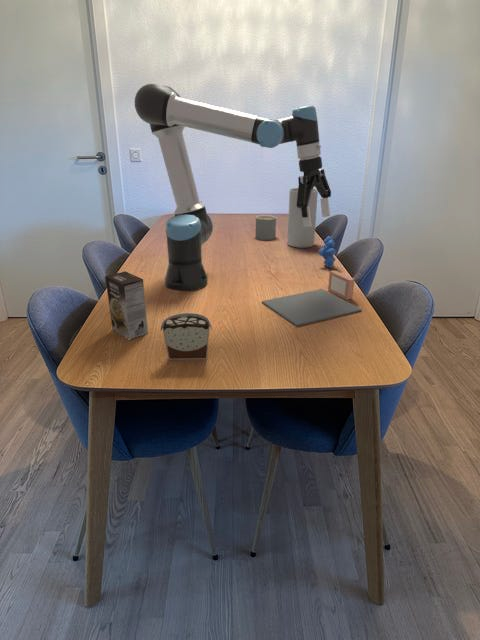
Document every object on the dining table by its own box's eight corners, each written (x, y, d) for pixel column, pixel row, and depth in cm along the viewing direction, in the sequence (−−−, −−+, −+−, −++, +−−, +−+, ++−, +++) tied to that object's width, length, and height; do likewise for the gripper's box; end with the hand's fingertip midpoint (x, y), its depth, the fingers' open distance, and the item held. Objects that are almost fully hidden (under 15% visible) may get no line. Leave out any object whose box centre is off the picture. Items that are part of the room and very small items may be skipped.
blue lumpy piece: (313, 262, 179) (316, 233, 174) (330, 261, 180) (332, 233, 175) (320, 271, 169) (322, 240, 164) (337, 270, 169) (340, 240, 164)
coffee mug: (276, 239, 212) (277, 219, 208) (256, 240, 212) (257, 219, 207) (272, 233, 224) (273, 213, 220) (253, 233, 224) (253, 214, 219)
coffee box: (111, 330, 122) (103, 275, 115) (131, 323, 126) (125, 270, 119) (128, 340, 116) (121, 284, 109) (149, 333, 120) (143, 278, 113)
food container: (213, 347, 113) (212, 311, 108) (212, 358, 107) (211, 322, 103) (165, 347, 112) (163, 312, 108) (162, 359, 107) (159, 323, 102)
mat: (297, 326, 124) (297, 324, 123) (261, 302, 140) (261, 301, 139) (361, 311, 134) (361, 309, 133) (321, 290, 150) (321, 288, 149)
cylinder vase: (285, 247, 200) (287, 191, 189) (289, 240, 211) (291, 187, 200) (312, 249, 197) (316, 192, 187) (315, 242, 208) (318, 188, 198)
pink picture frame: (352, 299, 143) (354, 279, 140) (346, 300, 142) (349, 280, 139) (333, 289, 151) (334, 270, 148) (327, 290, 150) (329, 271, 147)
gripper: (300, 162, 133) (309, 230, 141) (336, 150, 150) (342, 212, 158) (280, 165, 137) (289, 231, 145) (317, 153, 154) (324, 213, 163)
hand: (317, 221), depth 152 cm, fingers open, 13 cm apart
